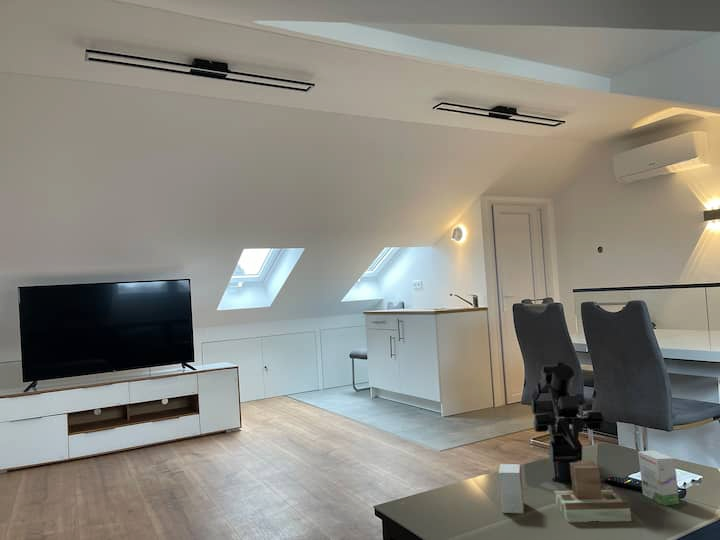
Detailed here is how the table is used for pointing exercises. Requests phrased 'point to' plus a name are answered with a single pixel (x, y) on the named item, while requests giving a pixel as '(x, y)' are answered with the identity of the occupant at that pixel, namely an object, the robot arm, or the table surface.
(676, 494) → the ink box
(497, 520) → the table surface
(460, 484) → the table surface
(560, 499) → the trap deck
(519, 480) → the small box
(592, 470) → the walnut block
